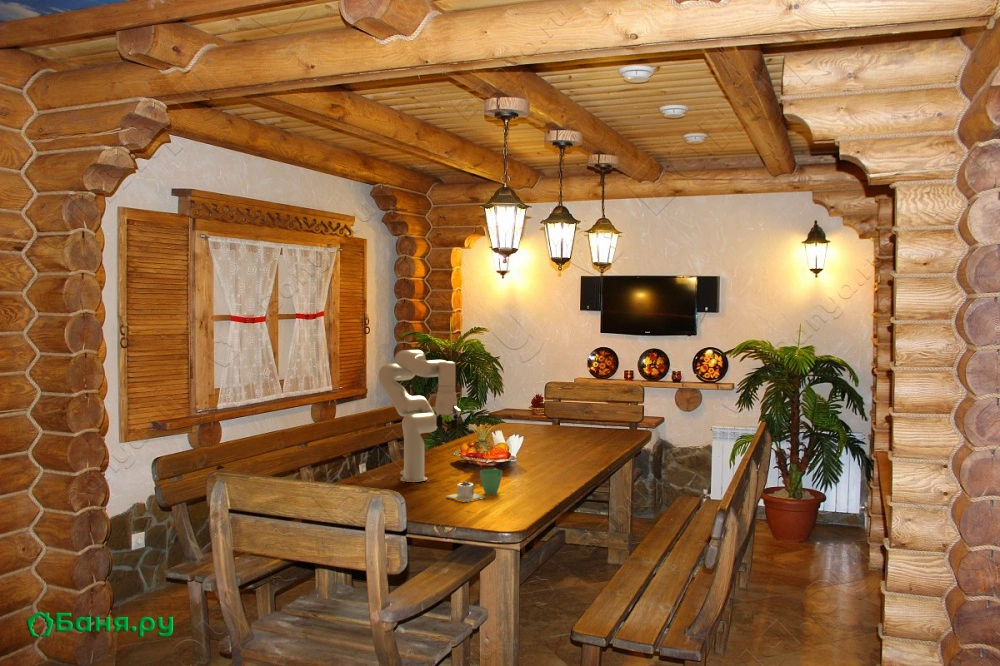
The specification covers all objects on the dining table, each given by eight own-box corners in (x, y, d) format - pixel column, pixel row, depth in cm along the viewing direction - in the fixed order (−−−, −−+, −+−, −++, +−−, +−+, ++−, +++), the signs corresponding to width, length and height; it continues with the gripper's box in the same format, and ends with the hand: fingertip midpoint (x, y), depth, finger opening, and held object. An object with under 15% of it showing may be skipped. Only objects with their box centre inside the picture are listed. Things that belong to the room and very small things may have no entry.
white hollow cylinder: (454, 495, 354) (454, 484, 354) (465, 493, 359) (465, 482, 358) (465, 498, 349) (465, 486, 349) (476, 496, 354) (476, 484, 354)
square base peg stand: (445, 498, 354) (445, 482, 353) (466, 493, 362) (466, 477, 362) (464, 503, 345) (465, 486, 345) (485, 498, 354) (485, 482, 354)
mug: (499, 496, 357) (499, 474, 357) (477, 495, 359) (477, 472, 359) (506, 489, 371) (506, 467, 371) (484, 488, 373) (484, 466, 373)
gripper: (427, 388, 370) (427, 426, 371) (453, 391, 358) (453, 430, 359) (440, 387, 376) (440, 424, 376) (466, 390, 363) (466, 428, 364)
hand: (446, 427), depth 367 cm, fingers open, 9 cm apart
